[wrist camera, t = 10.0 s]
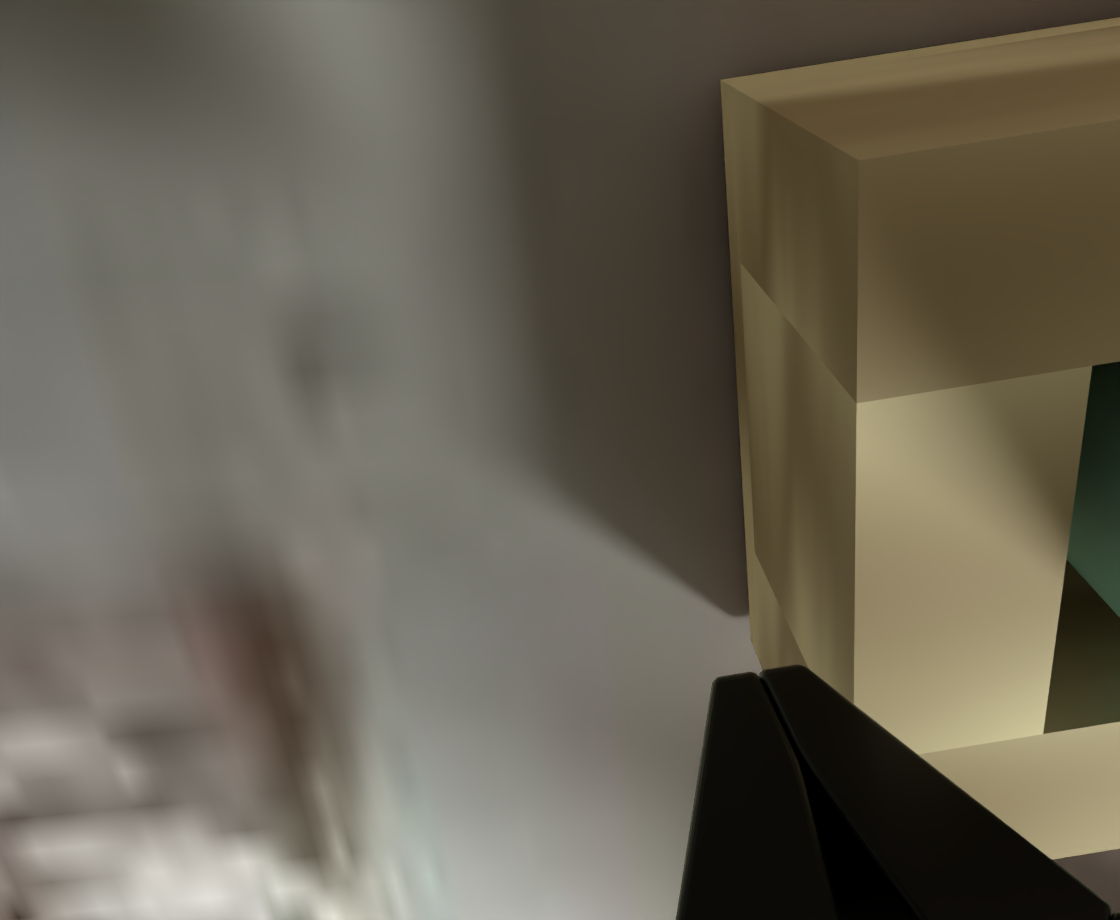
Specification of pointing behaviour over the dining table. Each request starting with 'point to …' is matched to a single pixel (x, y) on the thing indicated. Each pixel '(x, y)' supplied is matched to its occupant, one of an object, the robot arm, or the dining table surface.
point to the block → (936, 401)
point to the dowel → (1099, 489)
